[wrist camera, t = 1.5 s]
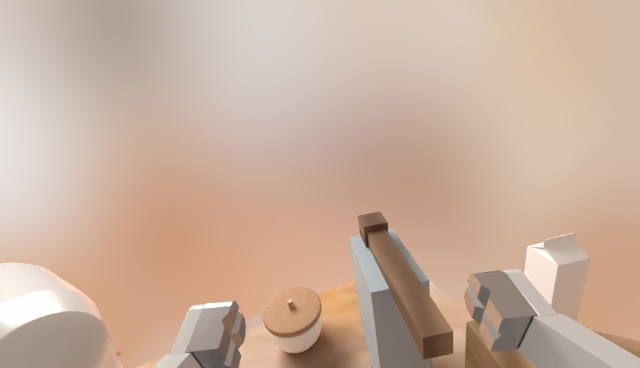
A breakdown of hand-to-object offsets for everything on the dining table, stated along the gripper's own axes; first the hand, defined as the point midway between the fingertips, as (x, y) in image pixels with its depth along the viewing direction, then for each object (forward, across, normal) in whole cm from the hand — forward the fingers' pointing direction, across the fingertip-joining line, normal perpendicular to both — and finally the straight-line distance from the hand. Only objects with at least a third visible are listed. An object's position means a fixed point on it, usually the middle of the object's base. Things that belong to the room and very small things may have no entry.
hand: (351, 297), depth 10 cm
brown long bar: (+19, +7, -24) cm, 31 cm away
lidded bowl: (+28, -12, -53) cm, 61 cm away
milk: (+23, +38, -50) cm, 67 cm away
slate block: (+19, +7, -50) cm, 54 cm away
